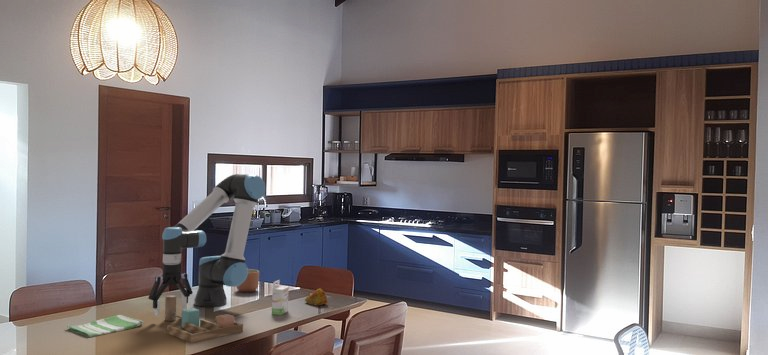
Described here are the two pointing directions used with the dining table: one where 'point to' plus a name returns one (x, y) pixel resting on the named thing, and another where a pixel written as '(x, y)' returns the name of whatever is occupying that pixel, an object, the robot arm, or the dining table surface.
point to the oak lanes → (203, 330)
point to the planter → (250, 281)
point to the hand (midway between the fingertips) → (170, 313)
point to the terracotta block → (225, 320)
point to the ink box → (279, 298)
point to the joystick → (187, 314)
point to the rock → (317, 298)
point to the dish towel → (106, 326)
